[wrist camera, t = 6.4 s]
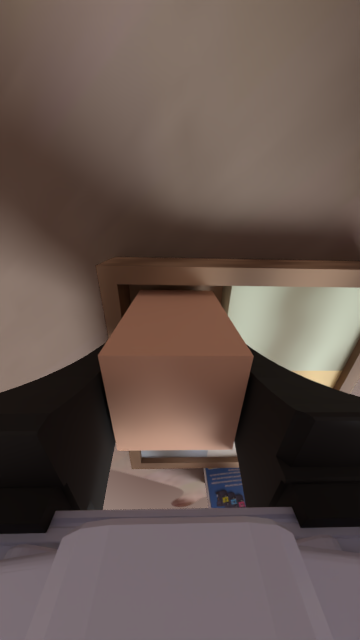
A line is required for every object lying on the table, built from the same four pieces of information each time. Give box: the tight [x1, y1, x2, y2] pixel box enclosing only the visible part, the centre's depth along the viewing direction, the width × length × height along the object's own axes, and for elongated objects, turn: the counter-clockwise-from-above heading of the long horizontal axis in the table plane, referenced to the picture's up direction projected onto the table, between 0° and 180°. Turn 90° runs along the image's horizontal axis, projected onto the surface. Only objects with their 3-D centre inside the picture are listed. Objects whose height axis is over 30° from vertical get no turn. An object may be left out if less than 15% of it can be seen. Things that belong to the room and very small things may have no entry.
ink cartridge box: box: [203, 468, 246, 508], centre depth 19 cm, size 10×6×14 cm, turn 7°
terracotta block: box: [98, 290, 254, 451], centre depth 10 cm, size 5×5×7 cm
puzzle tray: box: [96, 257, 360, 469], centre depth 16 cm, size 18×20×4 cm
